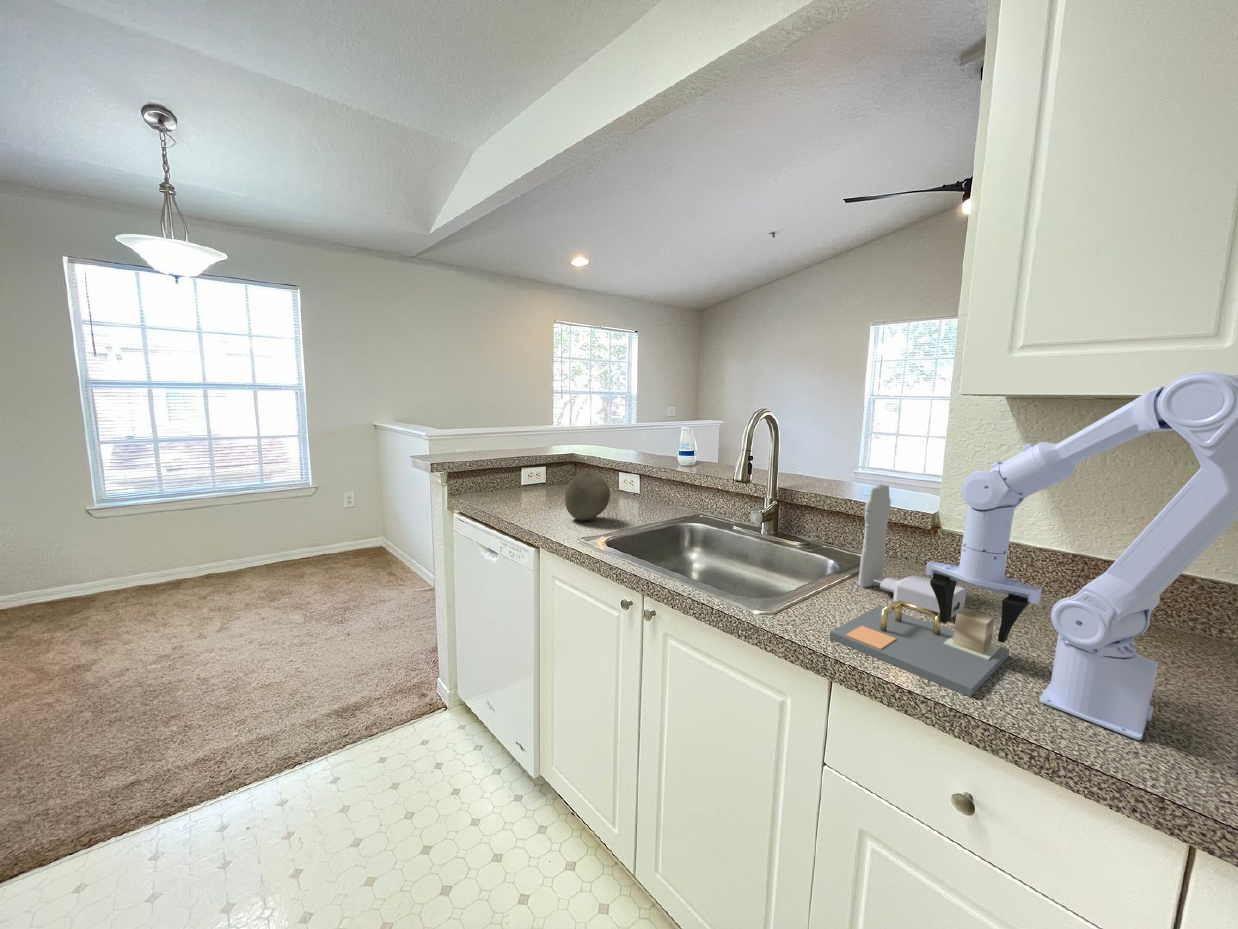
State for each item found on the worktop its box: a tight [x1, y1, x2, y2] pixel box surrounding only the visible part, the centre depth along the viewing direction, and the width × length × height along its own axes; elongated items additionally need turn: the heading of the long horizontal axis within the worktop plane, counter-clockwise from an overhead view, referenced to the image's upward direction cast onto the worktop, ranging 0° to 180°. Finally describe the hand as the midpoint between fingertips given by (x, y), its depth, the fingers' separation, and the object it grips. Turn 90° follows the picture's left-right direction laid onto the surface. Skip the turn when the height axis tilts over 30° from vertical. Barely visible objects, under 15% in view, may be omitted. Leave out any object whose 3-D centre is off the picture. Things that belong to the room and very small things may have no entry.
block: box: [953, 607, 996, 654], centre depth 78 cm, size 4×4×5 cm
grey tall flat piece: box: [857, 483, 892, 589], centre depth 107 cm, size 11×4×22 cm, turn 130°
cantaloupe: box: [564, 472, 611, 522], centre depth 155 cm, size 14×14×15 cm
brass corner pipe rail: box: [880, 600, 942, 636], centre depth 82 cm, size 7×7×4 cm
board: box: [829, 605, 1010, 698], centre depth 80 cm, size 20×18×1 cm
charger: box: [874, 574, 967, 618], centre depth 98 cm, size 5×9×15 cm
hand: (972, 630), depth 78 cm, fingers open, 7 cm apart
